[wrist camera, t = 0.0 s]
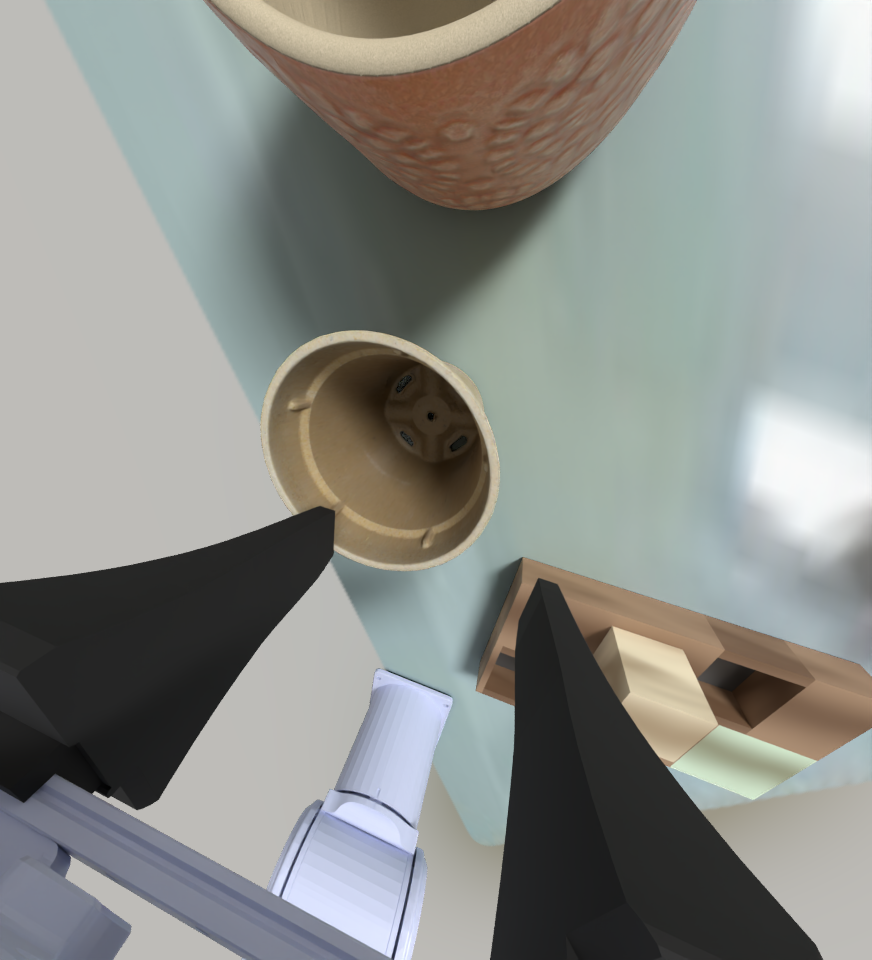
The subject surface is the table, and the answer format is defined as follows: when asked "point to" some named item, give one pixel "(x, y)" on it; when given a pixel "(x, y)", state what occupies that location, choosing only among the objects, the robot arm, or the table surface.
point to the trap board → (710, 680)
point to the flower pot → (381, 448)
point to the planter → (463, 81)
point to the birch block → (656, 691)
